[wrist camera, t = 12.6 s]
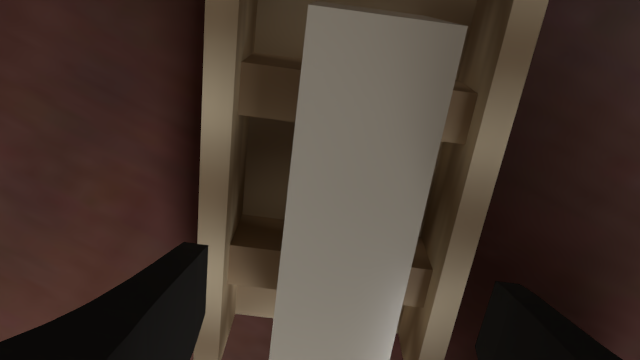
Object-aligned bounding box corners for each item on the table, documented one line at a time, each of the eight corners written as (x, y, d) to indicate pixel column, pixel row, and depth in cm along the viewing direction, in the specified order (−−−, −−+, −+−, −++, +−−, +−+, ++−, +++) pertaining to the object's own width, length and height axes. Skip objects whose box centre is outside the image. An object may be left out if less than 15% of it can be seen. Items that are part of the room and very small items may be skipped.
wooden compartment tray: (415, 325, 24) (433, 396, 19) (218, 300, 23) (193, 368, 19) (501, -16, 18) (553, -19, 13) (237, -53, 17) (207, -67, 13)
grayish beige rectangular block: (360, 340, 20) (369, 447, 15) (277, 329, 20) (260, 435, 15) (425, 15, 15) (467, 26, 10) (315, 0, 15) (308, 4, 10)
